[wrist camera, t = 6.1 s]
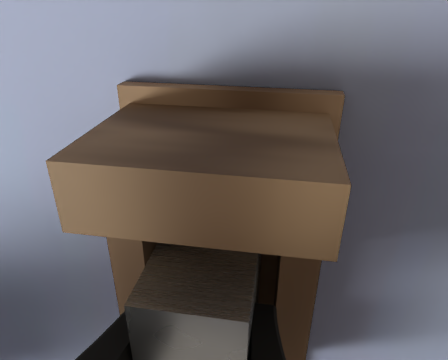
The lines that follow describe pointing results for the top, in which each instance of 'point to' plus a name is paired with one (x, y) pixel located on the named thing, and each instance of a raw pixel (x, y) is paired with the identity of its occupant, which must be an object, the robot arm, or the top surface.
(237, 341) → the grey concrete block
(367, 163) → the top surface
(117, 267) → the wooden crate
